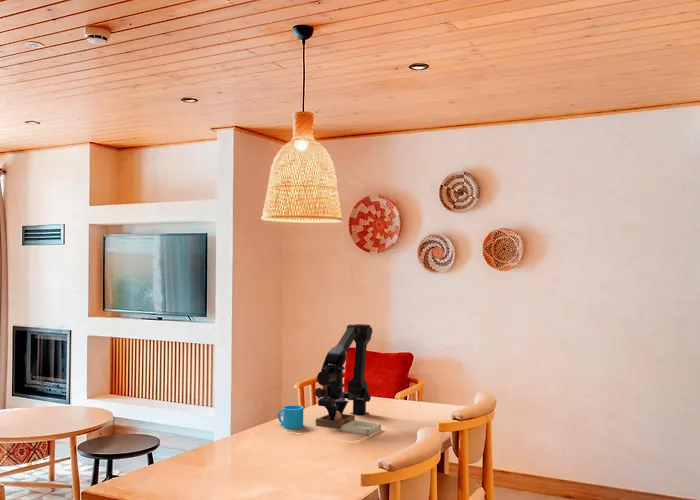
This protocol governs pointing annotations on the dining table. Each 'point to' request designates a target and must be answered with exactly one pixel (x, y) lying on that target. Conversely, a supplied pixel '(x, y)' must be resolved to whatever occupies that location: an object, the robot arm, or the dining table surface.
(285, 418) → the mug
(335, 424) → the walnut box
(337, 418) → the ball
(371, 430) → the tray
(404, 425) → the dining table surface
